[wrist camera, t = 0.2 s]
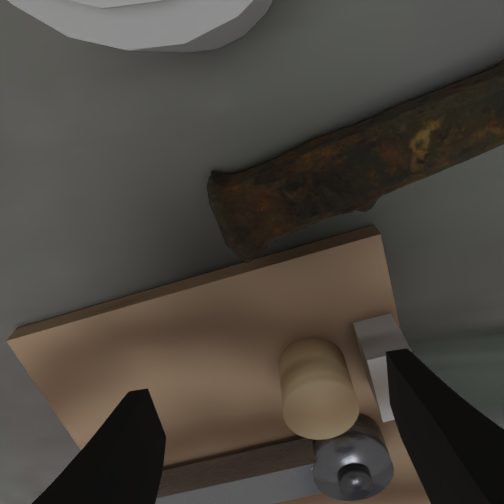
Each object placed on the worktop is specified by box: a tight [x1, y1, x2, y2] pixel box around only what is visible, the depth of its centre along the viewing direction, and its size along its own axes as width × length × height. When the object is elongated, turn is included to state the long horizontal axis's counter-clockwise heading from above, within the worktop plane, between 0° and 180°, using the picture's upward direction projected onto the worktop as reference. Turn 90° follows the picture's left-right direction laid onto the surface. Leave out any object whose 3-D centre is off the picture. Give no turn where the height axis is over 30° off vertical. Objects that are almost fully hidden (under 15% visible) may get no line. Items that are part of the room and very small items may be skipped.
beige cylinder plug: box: [279, 338, 359, 440], centre depth 22 cm, size 4×4×3 cm
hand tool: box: [207, 60, 504, 263], centre depth 18 cm, size 19×4×5 cm, turn 111°
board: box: [7, 225, 431, 504], centre depth 25 cm, size 21×20×4 cm
